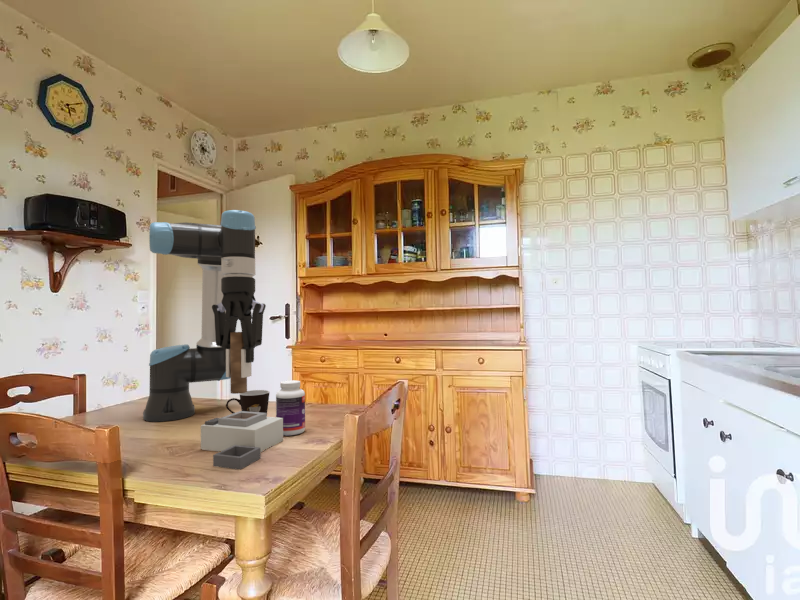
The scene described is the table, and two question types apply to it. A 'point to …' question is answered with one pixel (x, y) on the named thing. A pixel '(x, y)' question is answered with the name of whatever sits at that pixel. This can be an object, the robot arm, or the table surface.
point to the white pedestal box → (241, 431)
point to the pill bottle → (291, 407)
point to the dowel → (236, 364)
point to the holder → (236, 457)
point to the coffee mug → (252, 401)
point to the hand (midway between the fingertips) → (238, 376)
